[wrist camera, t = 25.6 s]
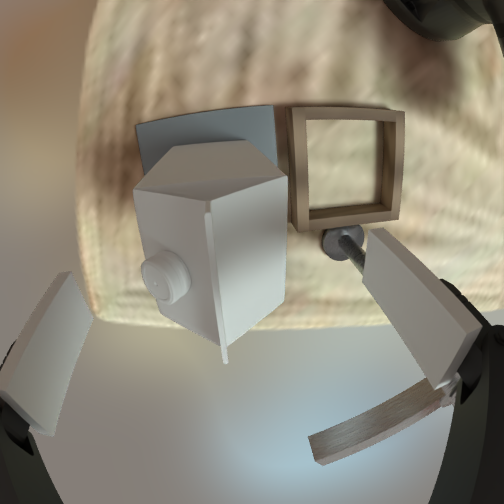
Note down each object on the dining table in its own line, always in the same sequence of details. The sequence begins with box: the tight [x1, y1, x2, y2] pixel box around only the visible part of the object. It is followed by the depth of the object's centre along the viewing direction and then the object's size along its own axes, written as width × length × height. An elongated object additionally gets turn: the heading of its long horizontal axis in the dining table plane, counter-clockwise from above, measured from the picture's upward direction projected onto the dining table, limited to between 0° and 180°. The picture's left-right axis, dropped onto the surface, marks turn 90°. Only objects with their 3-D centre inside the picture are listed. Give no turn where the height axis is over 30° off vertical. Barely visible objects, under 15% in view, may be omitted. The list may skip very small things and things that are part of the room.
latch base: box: [322, 225, 364, 261], centre depth 32 cm, size 5×5×1 cm
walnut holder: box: [285, 107, 405, 232], centre depth 27 cm, size 12×12×2 cm
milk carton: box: [133, 140, 288, 364], centre depth 19 cm, size 7×7×19 cm
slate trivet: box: [136, 105, 278, 175], centre depth 27 cm, size 13×13×1 cm
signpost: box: [308, 235, 461, 465], centre depth 23 cm, size 12×12×27 cm
